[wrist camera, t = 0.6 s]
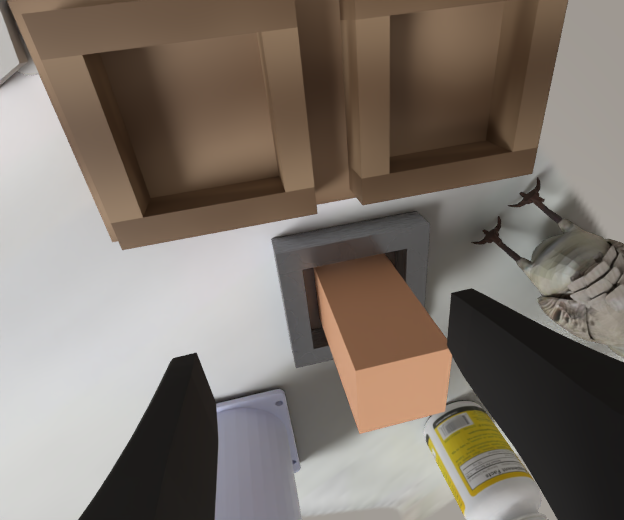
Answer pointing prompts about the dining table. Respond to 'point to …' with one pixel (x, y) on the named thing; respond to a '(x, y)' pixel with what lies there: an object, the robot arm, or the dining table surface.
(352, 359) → the peg
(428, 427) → the supplement bottle
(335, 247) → the socket
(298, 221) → the dining table surface
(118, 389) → the dining table surface
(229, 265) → the dining table surface
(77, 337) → the dining table surface
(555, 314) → the decorative bird
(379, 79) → the rack
